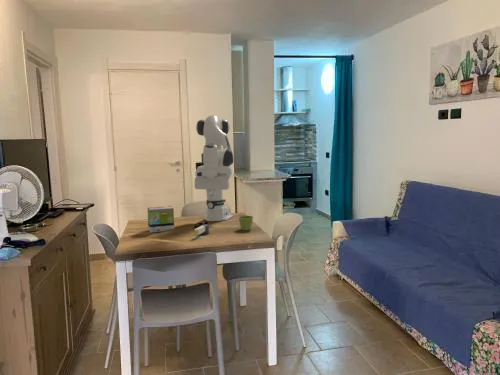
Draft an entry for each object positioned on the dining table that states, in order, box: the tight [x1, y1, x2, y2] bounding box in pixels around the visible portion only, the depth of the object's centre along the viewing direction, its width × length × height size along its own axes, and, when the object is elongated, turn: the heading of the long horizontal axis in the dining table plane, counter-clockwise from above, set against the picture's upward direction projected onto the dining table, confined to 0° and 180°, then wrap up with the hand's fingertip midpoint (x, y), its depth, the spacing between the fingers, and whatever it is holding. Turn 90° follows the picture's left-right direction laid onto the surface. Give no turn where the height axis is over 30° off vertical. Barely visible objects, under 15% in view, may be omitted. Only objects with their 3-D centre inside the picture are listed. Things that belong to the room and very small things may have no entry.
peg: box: [194, 224, 210, 236], centre depth 232 cm, size 15×5×5 cm, turn 162°
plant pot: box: [237, 215, 254, 231], centre depth 247 cm, size 9×9×9 cm
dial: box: [191, 233, 223, 240], centre depth 238 cm, size 25×25×1 cm
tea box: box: [147, 205, 175, 233], centre depth 253 cm, size 15×10×15 cm, turn 112°
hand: (212, 197), depth 228 cm, fingers closed
